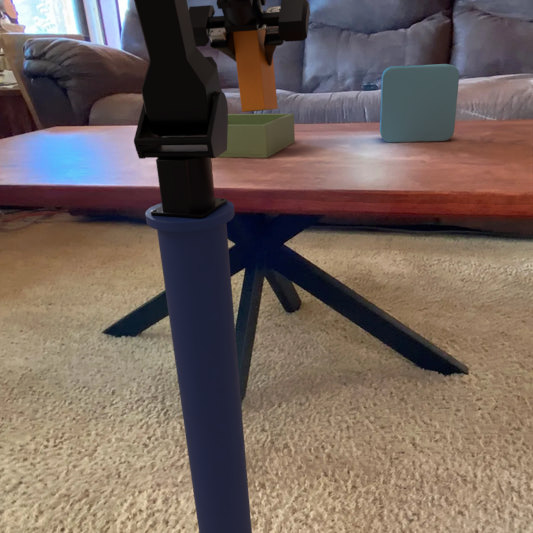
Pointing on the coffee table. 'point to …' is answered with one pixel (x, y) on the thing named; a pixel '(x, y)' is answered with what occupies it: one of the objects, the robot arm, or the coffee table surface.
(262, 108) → the block
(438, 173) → the coffee table surface
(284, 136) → the open box
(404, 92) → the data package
